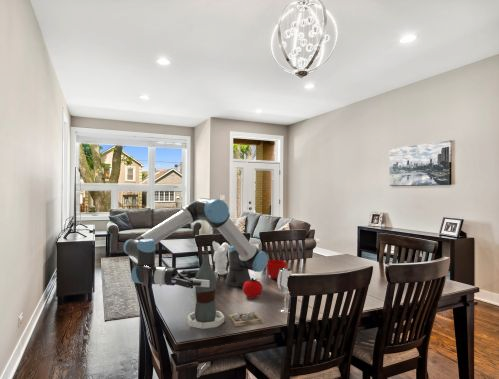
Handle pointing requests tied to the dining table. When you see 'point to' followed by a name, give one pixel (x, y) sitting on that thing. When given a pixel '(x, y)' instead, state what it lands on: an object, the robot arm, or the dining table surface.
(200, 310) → the vodka
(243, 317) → the pebble
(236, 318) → the pebble
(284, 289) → the wineglass
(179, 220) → the robot arm
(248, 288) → the tomato
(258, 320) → the parts tray
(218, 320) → the bowl
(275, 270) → the ceramic cup
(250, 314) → the pebble
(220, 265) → the cherub figurine
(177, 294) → the dining table surface
